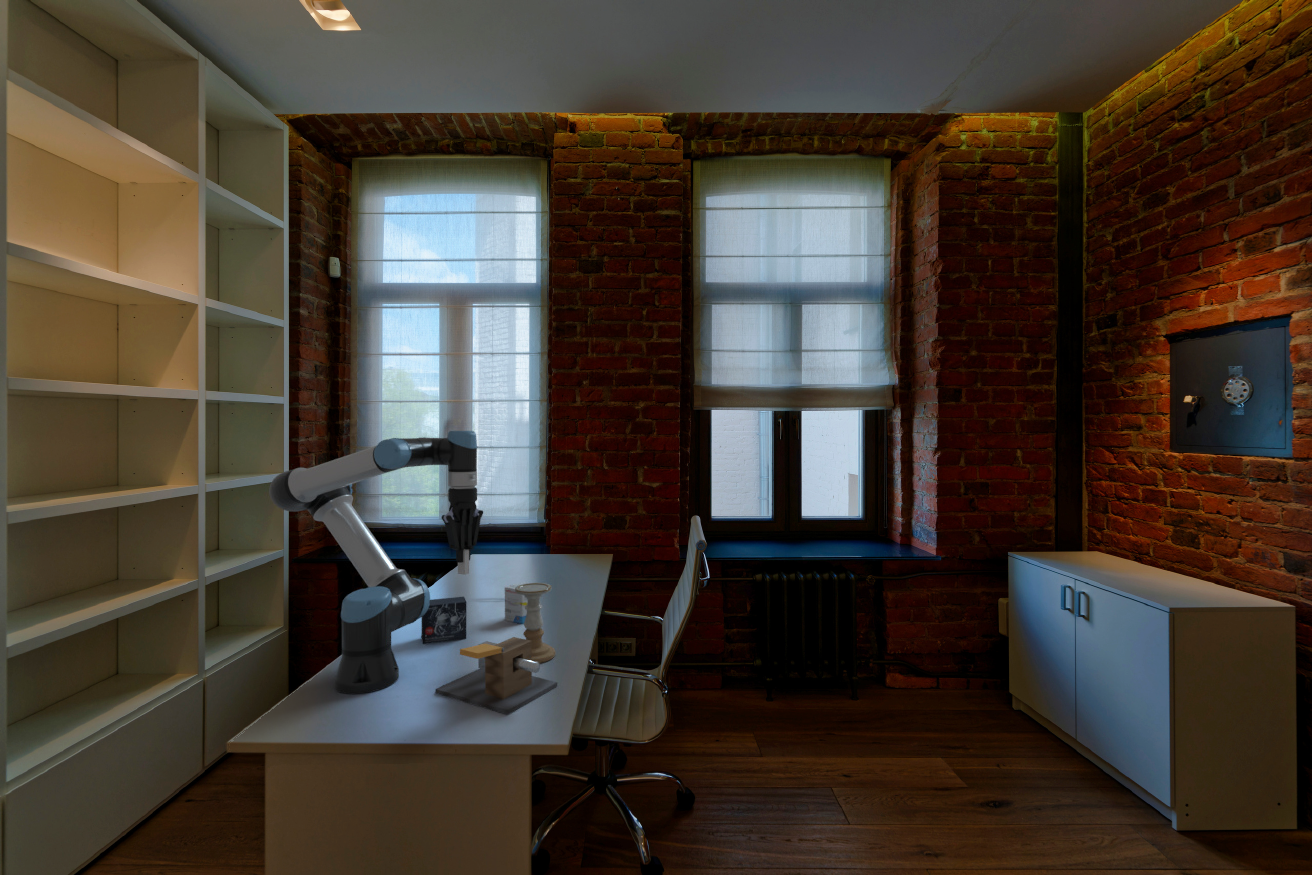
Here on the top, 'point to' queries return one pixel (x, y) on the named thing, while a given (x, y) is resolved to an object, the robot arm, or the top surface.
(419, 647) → the top surface
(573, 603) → the top surface
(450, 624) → the small box
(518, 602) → the ink box
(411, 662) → the top surface
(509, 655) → the hitch block
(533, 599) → the candle holder
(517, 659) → the lynch pin
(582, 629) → the top surface
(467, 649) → the plate
